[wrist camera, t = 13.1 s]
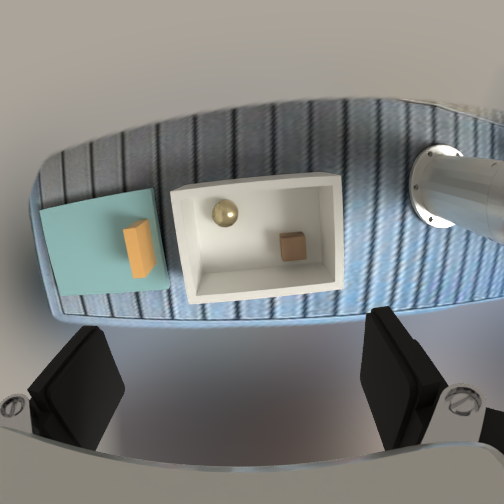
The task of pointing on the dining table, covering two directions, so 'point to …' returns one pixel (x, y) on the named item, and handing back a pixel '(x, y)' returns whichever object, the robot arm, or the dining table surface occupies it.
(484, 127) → the dining table surface
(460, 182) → the robot arm
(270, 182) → the tub
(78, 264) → the lid
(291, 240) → the walnut block
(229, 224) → the brass ball
